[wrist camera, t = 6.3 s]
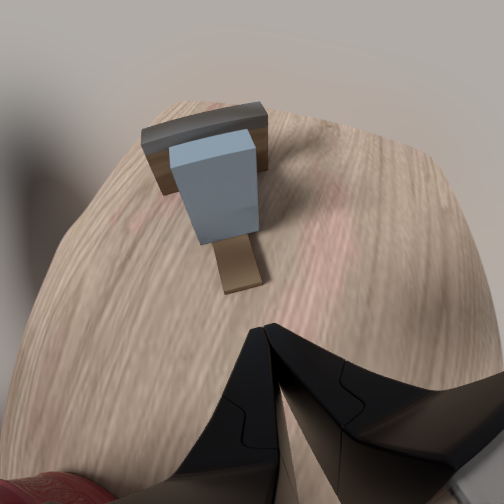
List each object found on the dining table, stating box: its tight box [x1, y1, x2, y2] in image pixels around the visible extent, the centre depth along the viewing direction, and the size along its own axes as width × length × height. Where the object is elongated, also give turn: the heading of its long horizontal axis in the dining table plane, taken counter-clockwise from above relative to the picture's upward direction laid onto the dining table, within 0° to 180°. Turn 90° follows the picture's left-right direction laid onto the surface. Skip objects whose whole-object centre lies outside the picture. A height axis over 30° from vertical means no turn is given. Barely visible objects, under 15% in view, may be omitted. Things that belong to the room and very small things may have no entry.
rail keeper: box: [141, 102, 268, 295], centre depth 23 cm, size 18×11×7 cm, turn 15°
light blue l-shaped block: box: [169, 129, 259, 245], centre depth 21 cm, size 10×5×9 cm, turn 15°
